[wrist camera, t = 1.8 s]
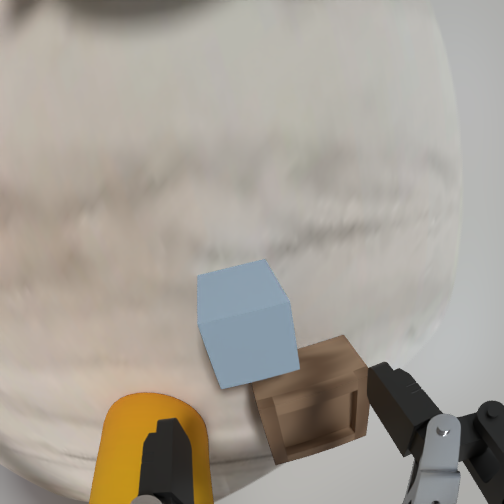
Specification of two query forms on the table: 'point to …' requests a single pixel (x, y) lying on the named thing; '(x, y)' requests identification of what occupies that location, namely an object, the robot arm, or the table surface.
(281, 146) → the table surface
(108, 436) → the beer bottle
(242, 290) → the lid block
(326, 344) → the walnut base
